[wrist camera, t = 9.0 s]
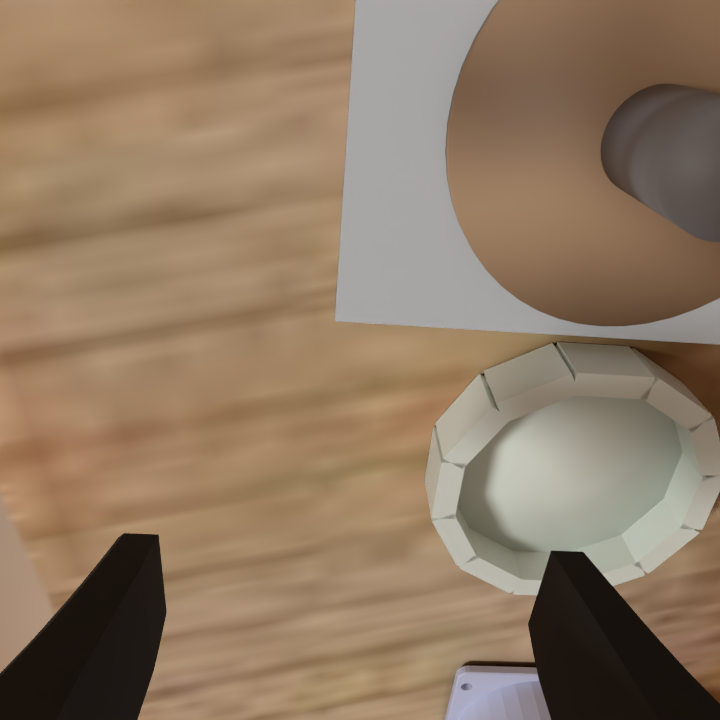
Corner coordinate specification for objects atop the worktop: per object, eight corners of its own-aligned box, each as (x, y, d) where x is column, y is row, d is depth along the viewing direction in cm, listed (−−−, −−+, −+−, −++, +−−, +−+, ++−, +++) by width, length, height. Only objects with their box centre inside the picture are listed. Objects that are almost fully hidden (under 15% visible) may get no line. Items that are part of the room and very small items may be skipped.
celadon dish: (647, 559, 26) (669, 600, 24) (413, 550, 25) (418, 591, 23) (733, 352, 21) (769, 383, 19) (448, 335, 20) (458, 365, 19)
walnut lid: (760, 326, 20) (866, 407, 16) (422, 308, 19) (444, 387, 15) (935, -88, 15) (1158, -124, 11) (480, -131, 14) (536, -187, 10)
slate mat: (818, 343, 21) (827, 351, 20) (335, 314, 20) (335, 321, 19) (1044, -121, 15) (1065, -125, 14) (368, -195, 14) (369, -202, 13)
